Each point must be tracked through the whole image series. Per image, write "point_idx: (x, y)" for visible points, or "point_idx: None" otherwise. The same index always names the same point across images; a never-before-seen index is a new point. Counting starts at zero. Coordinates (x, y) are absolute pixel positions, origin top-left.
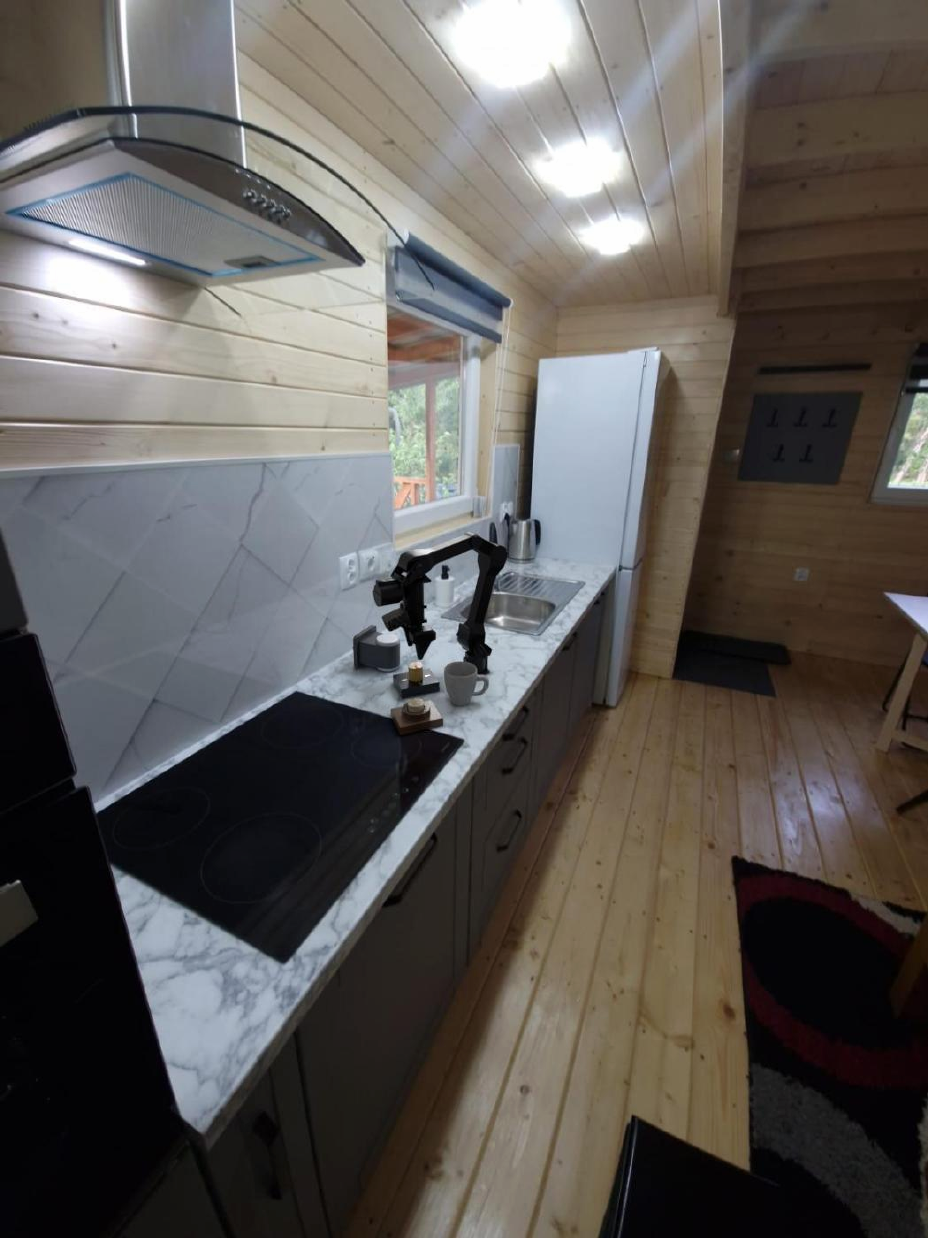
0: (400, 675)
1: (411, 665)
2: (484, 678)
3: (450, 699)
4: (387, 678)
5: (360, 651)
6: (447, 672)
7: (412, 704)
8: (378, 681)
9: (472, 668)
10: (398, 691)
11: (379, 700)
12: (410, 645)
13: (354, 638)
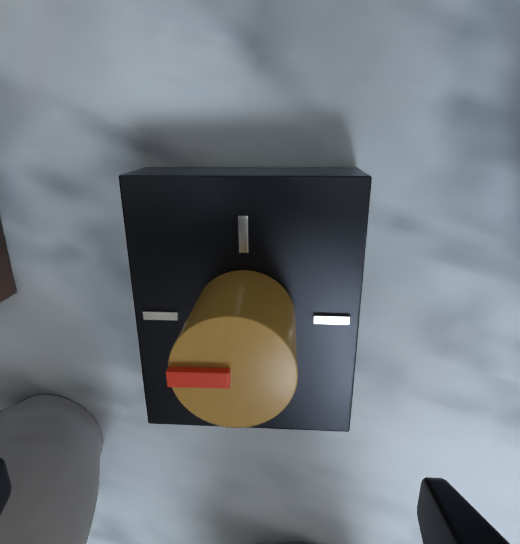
0: (331, 229)
1: (244, 345)
2: None
3: (44, 400)
4: (454, 149)
5: None
6: (14, 529)
7: None
8: (445, 70)
9: None
10: (222, 168)
11: (173, 7)
12: (423, 507)
13: None
